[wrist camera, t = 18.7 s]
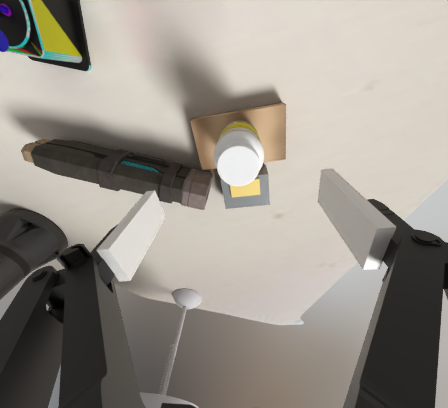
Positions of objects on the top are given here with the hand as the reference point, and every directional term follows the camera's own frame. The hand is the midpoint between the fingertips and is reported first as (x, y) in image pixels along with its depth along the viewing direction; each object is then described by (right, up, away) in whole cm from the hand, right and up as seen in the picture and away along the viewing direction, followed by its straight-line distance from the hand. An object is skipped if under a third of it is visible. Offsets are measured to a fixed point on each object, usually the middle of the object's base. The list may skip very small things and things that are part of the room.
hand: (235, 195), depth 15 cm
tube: (-18, +7, +21) cm, 28 cm away
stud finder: (+3, +4, +21) cm, 22 cm away
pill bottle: (+1, +9, +14) cm, 17 cm away
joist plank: (+2, +11, +16) cm, 20 cm away
